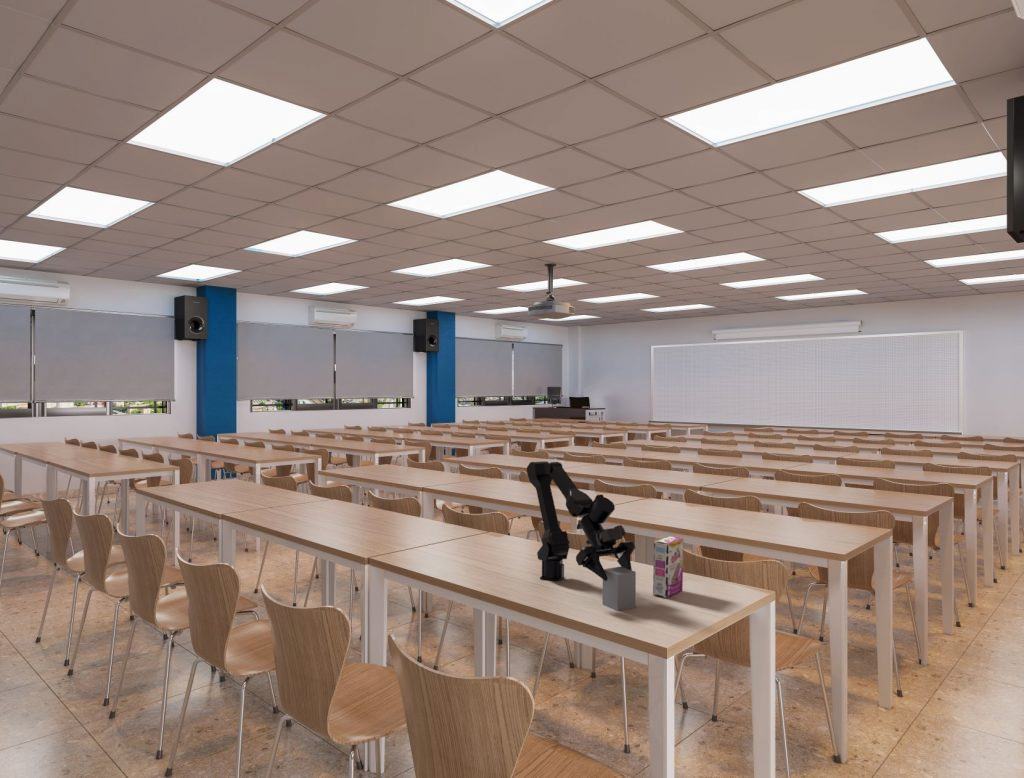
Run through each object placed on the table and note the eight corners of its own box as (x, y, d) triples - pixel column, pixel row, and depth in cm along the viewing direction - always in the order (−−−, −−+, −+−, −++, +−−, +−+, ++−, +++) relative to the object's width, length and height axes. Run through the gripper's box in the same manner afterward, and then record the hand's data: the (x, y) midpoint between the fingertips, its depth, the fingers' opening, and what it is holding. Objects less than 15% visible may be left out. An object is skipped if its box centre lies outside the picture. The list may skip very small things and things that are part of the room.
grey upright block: (602, 604, 183) (602, 569, 184) (620, 600, 187) (620, 566, 187) (617, 610, 178) (617, 574, 178) (635, 607, 181) (635, 571, 181)
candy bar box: (667, 599, 189) (668, 543, 190) (652, 595, 192) (652, 541, 193) (683, 590, 198) (684, 537, 198) (668, 587, 201) (669, 535, 201)
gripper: (581, 519, 183) (606, 566, 173) (631, 513, 192) (657, 558, 183) (565, 541, 189) (588, 588, 179) (614, 535, 199) (638, 579, 189)
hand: (619, 577), depth 182 cm, fingers open, 9 cm apart
